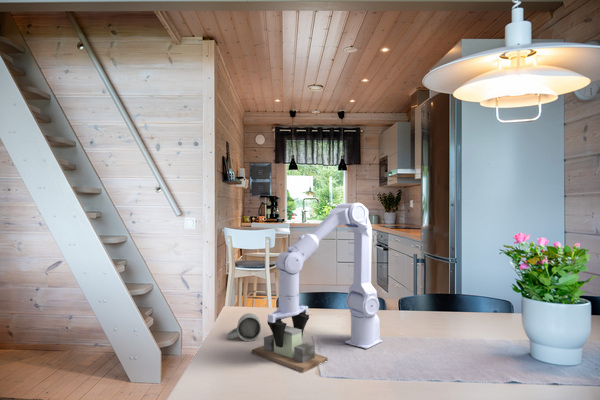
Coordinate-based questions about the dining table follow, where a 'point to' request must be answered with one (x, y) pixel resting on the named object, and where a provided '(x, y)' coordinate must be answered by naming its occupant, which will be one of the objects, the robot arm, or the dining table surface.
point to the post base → (300, 361)
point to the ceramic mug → (246, 328)
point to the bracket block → (289, 341)
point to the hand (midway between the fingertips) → (288, 343)
